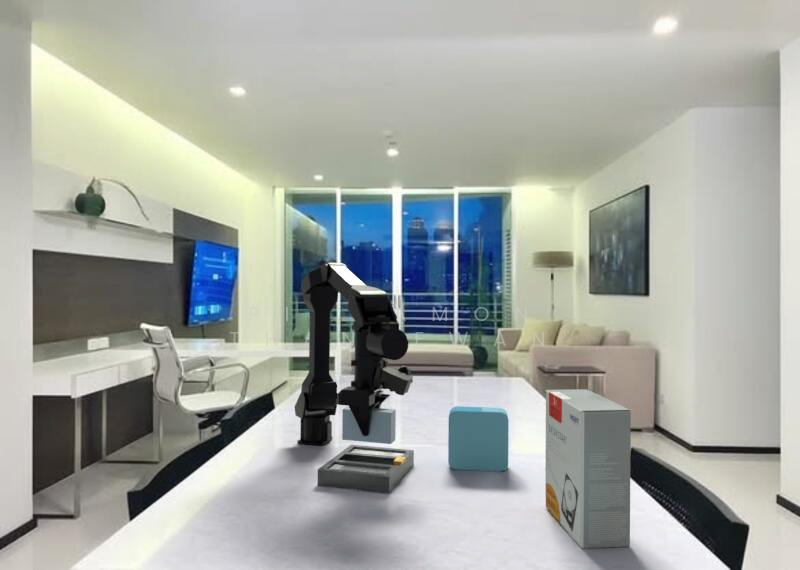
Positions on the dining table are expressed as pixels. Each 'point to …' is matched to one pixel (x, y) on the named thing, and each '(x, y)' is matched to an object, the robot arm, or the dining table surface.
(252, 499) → the dining table surface
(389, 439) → the block
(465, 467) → the data package
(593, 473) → the hard drive box
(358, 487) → the frame
